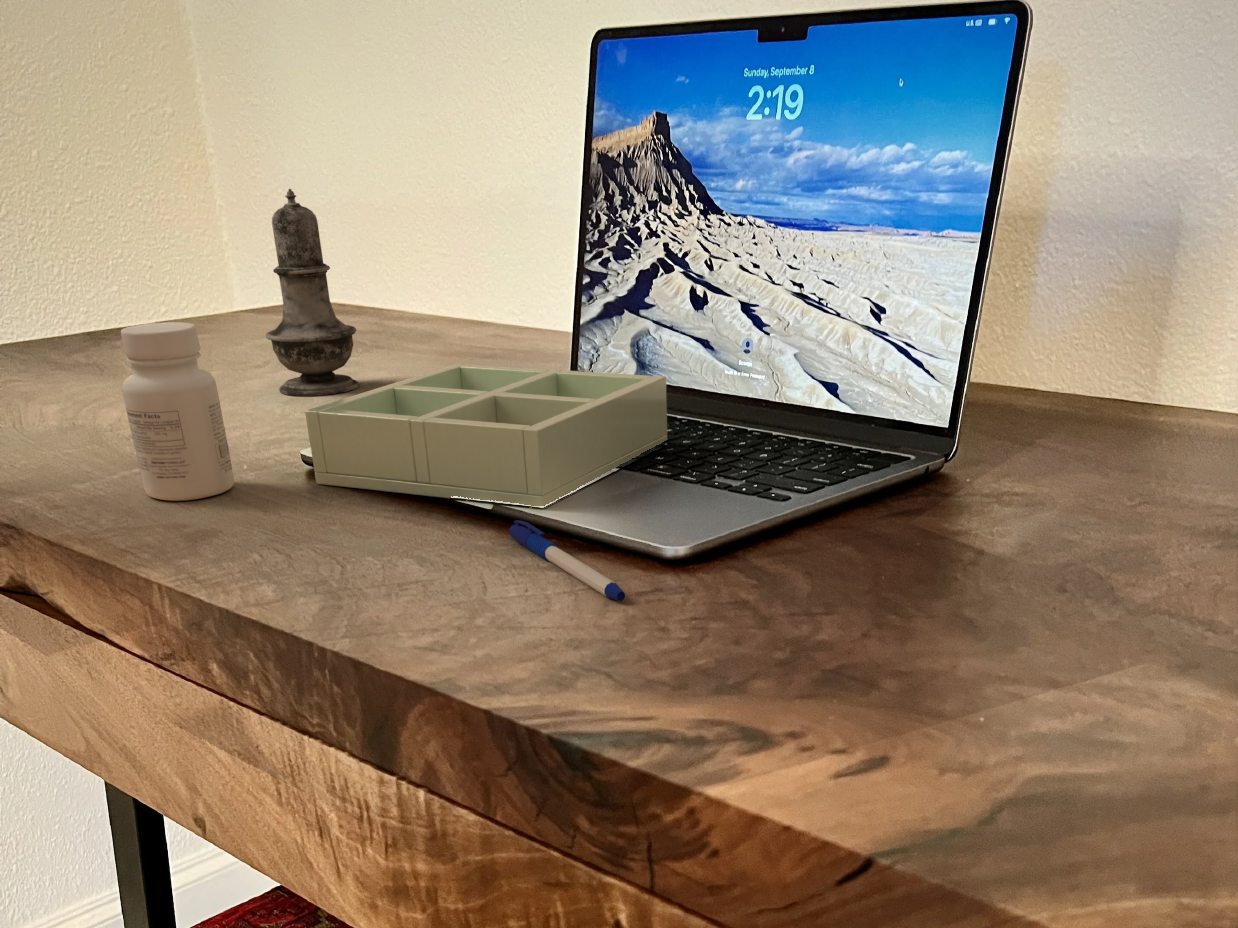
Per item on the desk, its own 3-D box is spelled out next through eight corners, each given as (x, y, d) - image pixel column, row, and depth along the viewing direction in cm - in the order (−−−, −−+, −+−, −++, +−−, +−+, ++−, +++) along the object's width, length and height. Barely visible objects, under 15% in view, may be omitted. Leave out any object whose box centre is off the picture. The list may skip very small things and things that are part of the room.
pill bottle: (208, 475, 70) (178, 317, 66) (251, 489, 67) (222, 325, 64) (129, 492, 68) (92, 329, 64) (170, 507, 65) (134, 337, 61)
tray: (315, 484, 68) (304, 410, 66) (462, 428, 78) (455, 363, 76) (543, 509, 63) (537, 430, 61) (668, 445, 73) (666, 376, 71)
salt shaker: (381, 383, 91) (356, 185, 85) (319, 399, 87) (288, 192, 81) (319, 377, 94) (290, 185, 88) (256, 392, 90) (221, 191, 83)
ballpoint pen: (502, 540, 59) (501, 517, 58) (521, 537, 59) (520, 514, 59) (615, 606, 51) (614, 581, 50) (635, 603, 51) (634, 577, 51)
